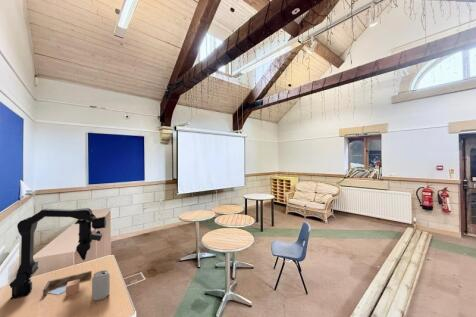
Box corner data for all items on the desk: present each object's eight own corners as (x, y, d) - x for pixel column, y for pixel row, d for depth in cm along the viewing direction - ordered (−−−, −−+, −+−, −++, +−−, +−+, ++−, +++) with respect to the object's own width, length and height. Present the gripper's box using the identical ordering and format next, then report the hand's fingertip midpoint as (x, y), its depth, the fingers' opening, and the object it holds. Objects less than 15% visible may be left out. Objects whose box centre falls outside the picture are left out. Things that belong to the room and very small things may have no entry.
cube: (65, 296, 103) (65, 286, 103) (67, 291, 107) (67, 281, 107) (78, 293, 105) (78, 283, 105) (79, 288, 109) (79, 279, 110)
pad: (58, 295, 104) (58, 294, 104) (48, 293, 105) (48, 292, 105) (72, 286, 111) (72, 286, 111) (62, 285, 112) (62, 285, 112)
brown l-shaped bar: (42, 296, 103) (43, 289, 103) (48, 287, 110) (48, 281, 110) (89, 284, 113) (89, 277, 113) (91, 276, 121) (91, 270, 121)
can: (112, 294, 104) (112, 270, 104) (97, 303, 97) (97, 278, 97) (103, 290, 107) (103, 268, 107) (88, 299, 100) (88, 275, 100)
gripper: (101, 231, 114) (100, 259, 114) (102, 224, 130) (101, 248, 129) (76, 235, 108) (75, 264, 107) (80, 227, 124) (80, 252, 123)
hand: (84, 256), depth 117 cm, fingers open, 9 cm apart
